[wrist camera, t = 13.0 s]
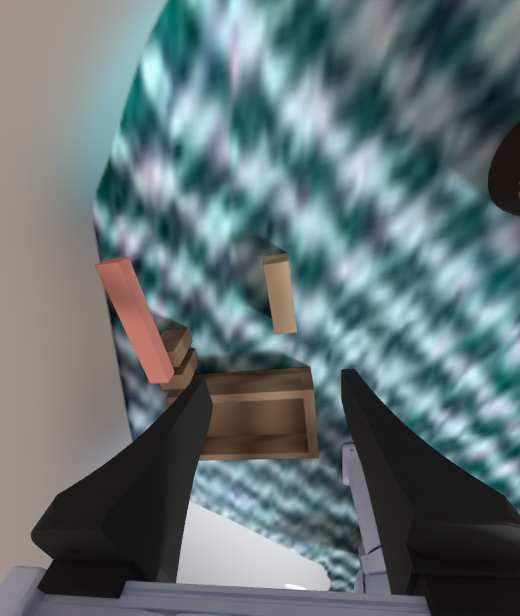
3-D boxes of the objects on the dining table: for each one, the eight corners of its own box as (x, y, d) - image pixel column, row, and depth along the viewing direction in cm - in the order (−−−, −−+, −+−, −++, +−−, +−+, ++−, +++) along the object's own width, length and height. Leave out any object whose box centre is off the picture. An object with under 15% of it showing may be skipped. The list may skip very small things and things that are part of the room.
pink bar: (128, 256, 16) (118, 262, 15) (174, 372, 21) (168, 382, 20) (106, 259, 17) (94, 265, 16) (156, 373, 21) (150, 383, 20)
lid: (362, 217, 19) (376, 224, 16) (361, 321, 23) (371, 340, 20) (191, 245, 21) (178, 255, 18) (218, 337, 25) (211, 356, 22)
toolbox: (306, 316, 22) (310, 340, 19) (315, 432, 29) (319, 464, 26) (159, 330, 24) (140, 354, 21) (201, 436, 31) (192, 466, 28)
